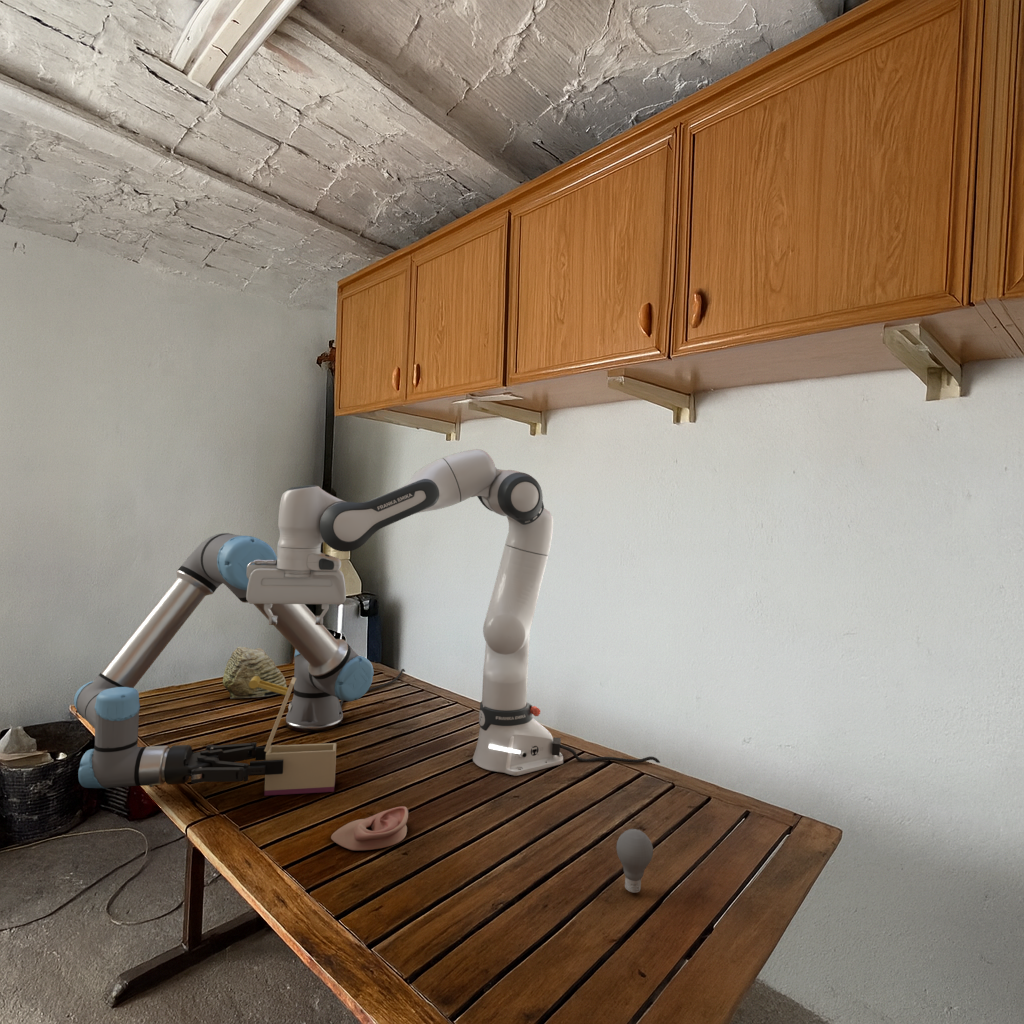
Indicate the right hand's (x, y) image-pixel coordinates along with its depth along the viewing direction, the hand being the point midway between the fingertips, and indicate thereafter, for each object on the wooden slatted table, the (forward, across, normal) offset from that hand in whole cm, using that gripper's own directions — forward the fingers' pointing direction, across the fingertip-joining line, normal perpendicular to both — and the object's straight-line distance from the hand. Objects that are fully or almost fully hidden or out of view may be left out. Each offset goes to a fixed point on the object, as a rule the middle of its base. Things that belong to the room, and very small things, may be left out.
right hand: (296, 624), depth 136 cm
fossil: (+36, -18, +67) cm, 78 cm away
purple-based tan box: (+36, +2, 0) cm, 36 cm away
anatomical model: (+36, +17, -22) cm, 45 cm away
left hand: (+29, -1, 0) cm, 29 cm away
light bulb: (+36, +59, -46) cm, 83 cm away
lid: (+19, -2, 0) cm, 19 cm away
